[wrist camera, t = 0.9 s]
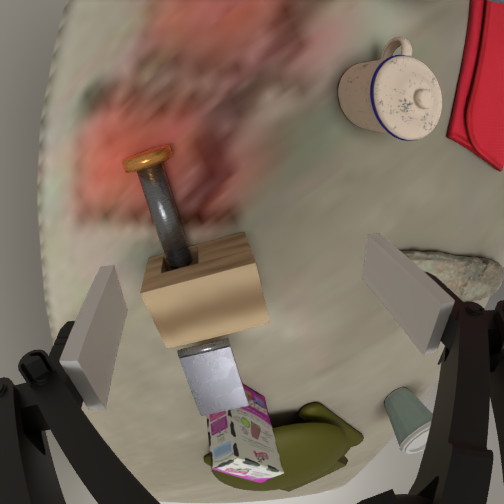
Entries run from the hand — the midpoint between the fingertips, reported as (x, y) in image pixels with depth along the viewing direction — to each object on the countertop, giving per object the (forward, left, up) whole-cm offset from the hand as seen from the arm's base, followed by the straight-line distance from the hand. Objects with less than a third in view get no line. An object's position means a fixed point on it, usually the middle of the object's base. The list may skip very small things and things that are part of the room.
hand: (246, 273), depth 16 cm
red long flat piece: (-37, +35, -23) cm, 56 cm away
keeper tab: (+21, +4, -12) cm, 24 cm away
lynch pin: (+5, -5, -22) cm, 23 cm away
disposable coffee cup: (+35, +51, -22) cm, 66 cm away
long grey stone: (+4, +42, -23) cm, 48 cm away
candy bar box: (+34, +12, -22) cm, 43 cm away
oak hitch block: (+12, +2, -22) cm, 25 cm away
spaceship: (+54, +29, -23) cm, 66 cm away
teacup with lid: (-17, +14, -22) cm, 31 cm away
